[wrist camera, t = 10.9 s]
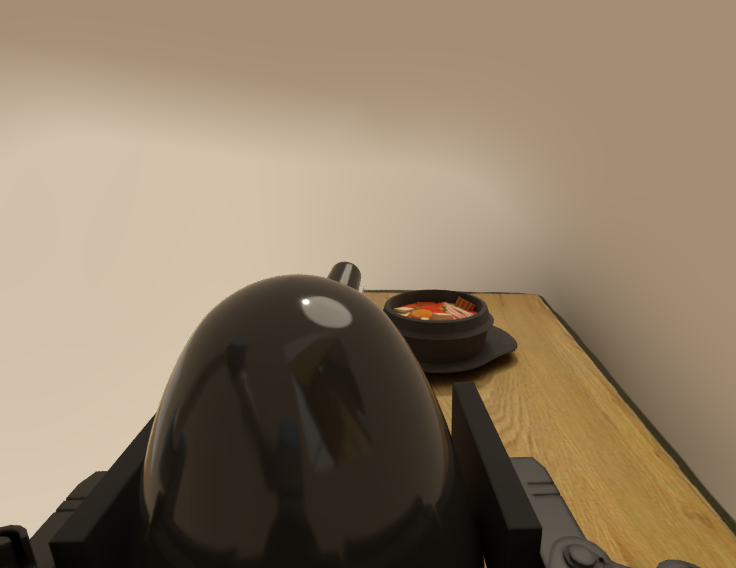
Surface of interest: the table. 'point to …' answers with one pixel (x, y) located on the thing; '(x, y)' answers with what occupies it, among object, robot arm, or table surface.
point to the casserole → (448, 329)
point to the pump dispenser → (301, 442)
